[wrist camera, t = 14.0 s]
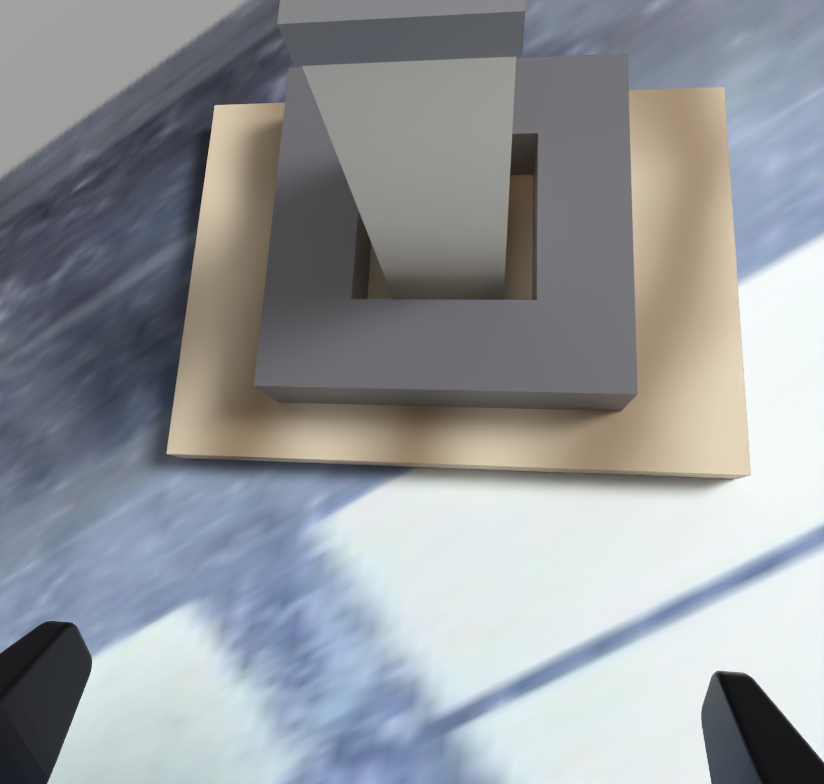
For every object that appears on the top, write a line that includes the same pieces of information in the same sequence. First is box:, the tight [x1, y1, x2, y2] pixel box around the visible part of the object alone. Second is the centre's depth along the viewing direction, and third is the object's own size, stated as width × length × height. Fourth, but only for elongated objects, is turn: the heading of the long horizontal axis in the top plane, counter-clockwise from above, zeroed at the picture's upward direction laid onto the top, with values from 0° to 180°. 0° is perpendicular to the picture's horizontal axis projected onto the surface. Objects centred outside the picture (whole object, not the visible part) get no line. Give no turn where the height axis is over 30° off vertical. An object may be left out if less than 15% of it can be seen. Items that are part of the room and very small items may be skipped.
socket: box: [254, 54, 638, 411], centre depth 23 cm, size 12×12×2 cm
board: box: [166, 87, 751, 479], centre depth 24 cm, size 20×14×1 cm
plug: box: [277, 0, 525, 300], centre depth 18 cm, size 4×5×13 cm
